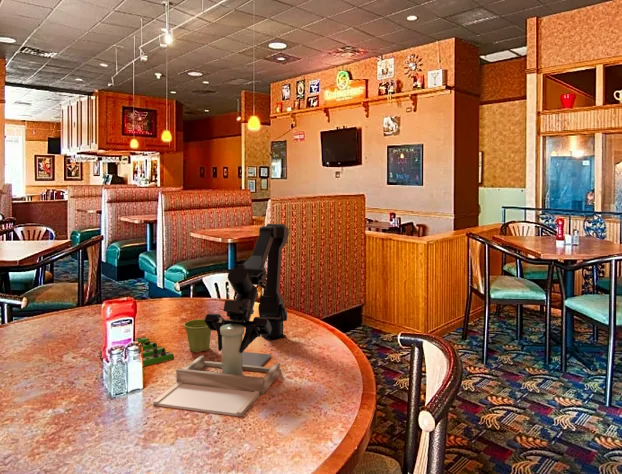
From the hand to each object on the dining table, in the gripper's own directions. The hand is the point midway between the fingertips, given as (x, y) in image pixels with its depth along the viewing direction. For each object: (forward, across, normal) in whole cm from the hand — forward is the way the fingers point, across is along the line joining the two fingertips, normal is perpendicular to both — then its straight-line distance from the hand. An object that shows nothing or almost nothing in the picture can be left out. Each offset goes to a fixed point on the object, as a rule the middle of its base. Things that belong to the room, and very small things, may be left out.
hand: (229, 351), depth 137 cm
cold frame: (+5, 0, +5) cm, 8 cm away
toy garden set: (0, -37, +12) cm, 39 cm away
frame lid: (+16, 0, -5) cm, 16 cm away
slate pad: (-4, 0, +14) cm, 15 cm away
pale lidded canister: (+4, 0, +6) cm, 8 cm away
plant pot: (-8, -19, +19) cm, 28 cm away
